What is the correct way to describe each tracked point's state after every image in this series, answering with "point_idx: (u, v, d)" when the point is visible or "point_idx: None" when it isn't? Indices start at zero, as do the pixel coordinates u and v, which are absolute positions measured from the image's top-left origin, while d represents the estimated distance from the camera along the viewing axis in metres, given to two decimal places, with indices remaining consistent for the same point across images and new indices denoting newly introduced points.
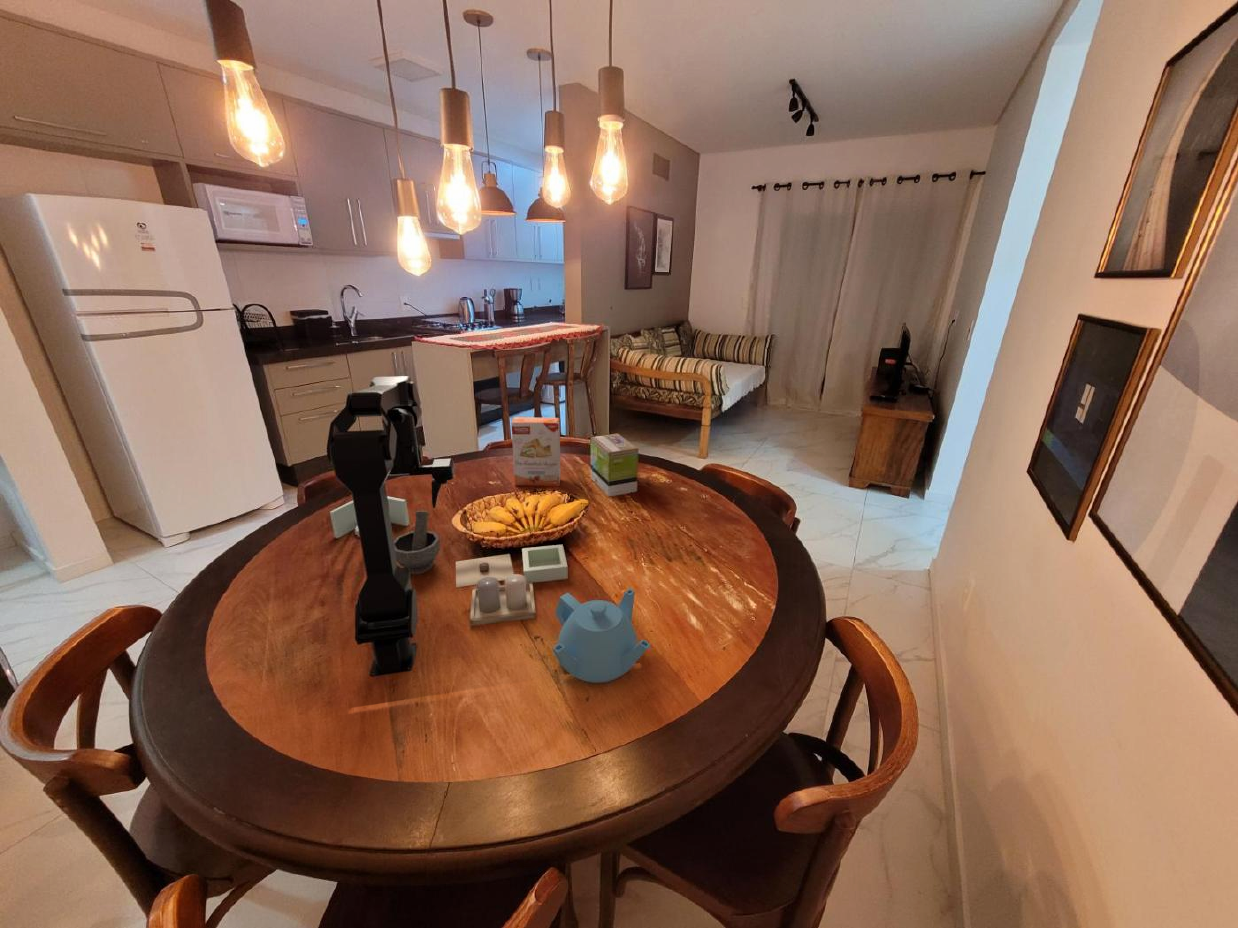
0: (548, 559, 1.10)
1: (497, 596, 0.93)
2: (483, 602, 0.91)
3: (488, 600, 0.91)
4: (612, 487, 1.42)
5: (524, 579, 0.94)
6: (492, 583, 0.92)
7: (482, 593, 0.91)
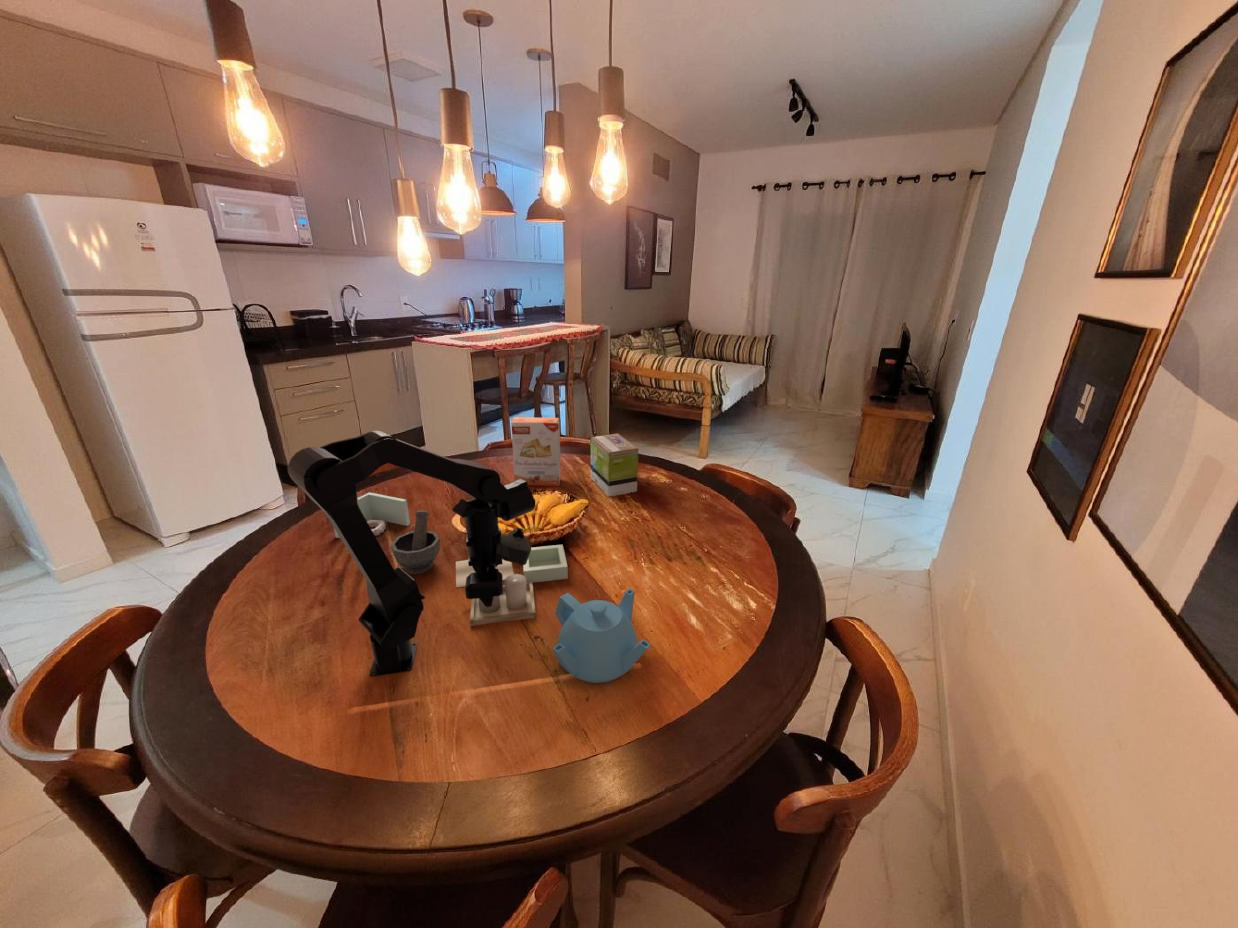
0: (548, 559, 1.10)
1: (497, 596, 0.93)
2: None
3: None
4: (612, 487, 1.42)
5: (524, 579, 0.94)
6: None
7: None
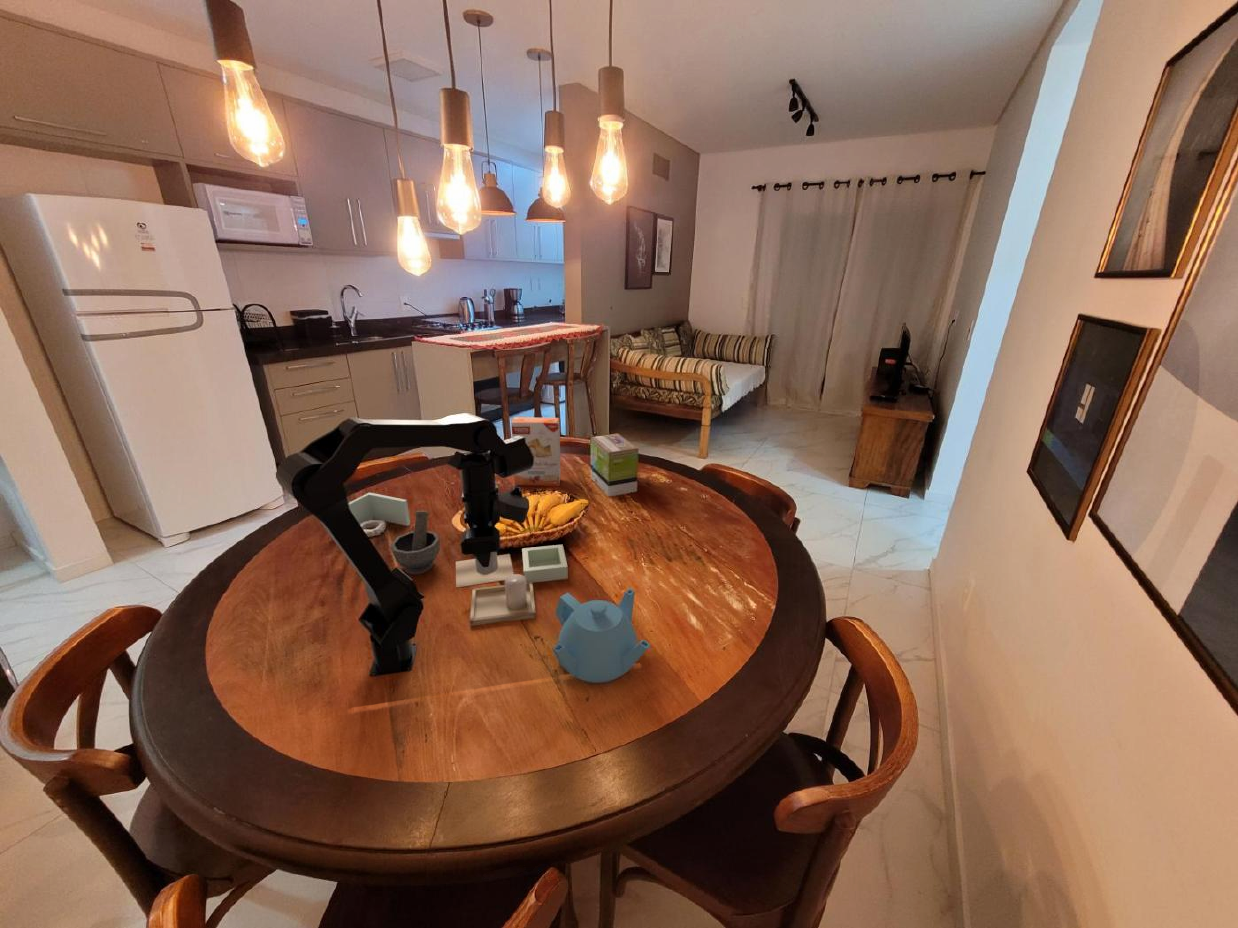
0: (548, 559, 1.10)
1: (495, 557, 0.89)
2: None
3: None
4: (612, 487, 1.42)
5: (524, 579, 0.94)
6: None
7: None
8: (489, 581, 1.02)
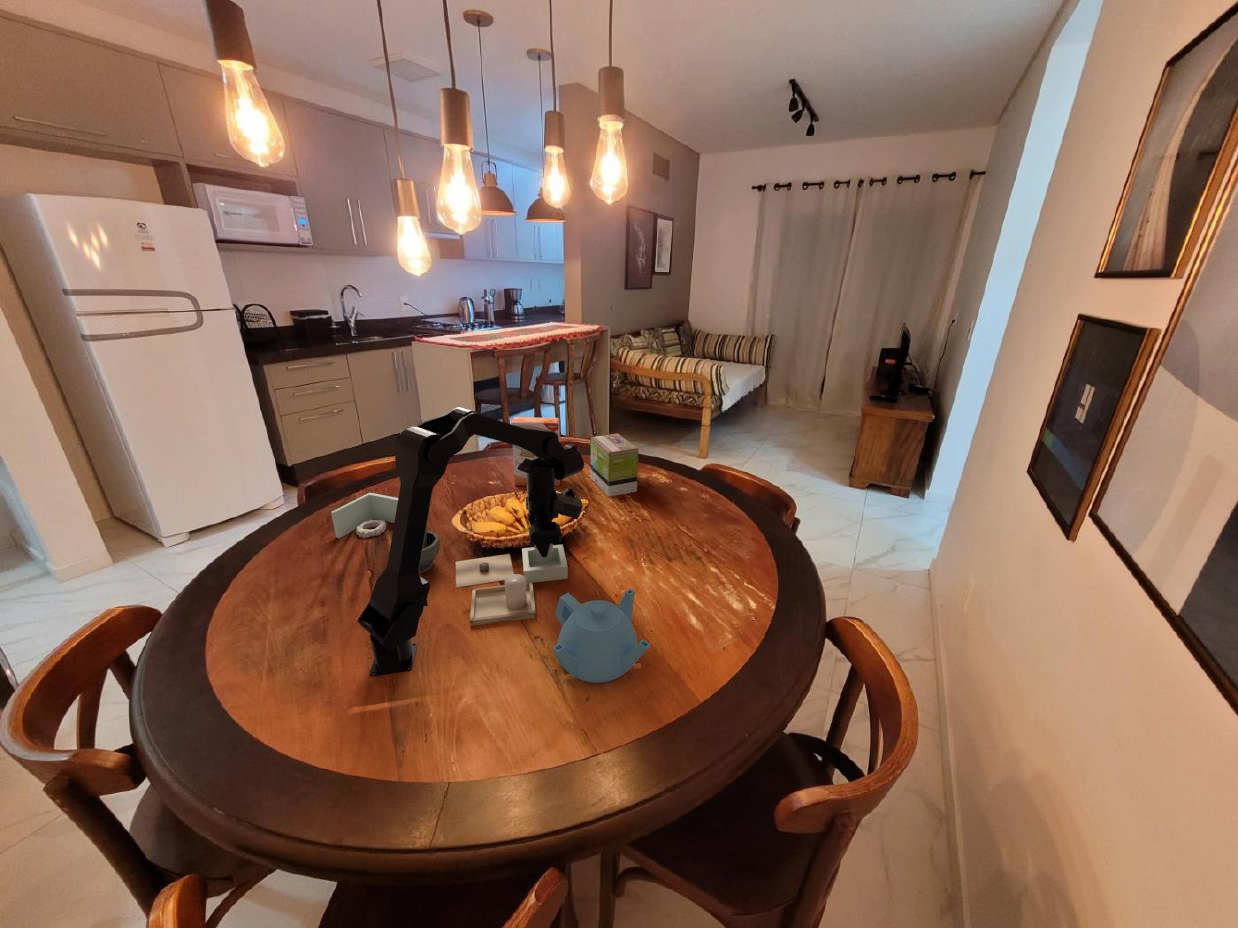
0: None
1: (551, 548, 1.04)
2: None
3: None
4: (612, 487, 1.42)
5: (524, 579, 0.94)
6: None
7: None
8: (489, 581, 1.02)
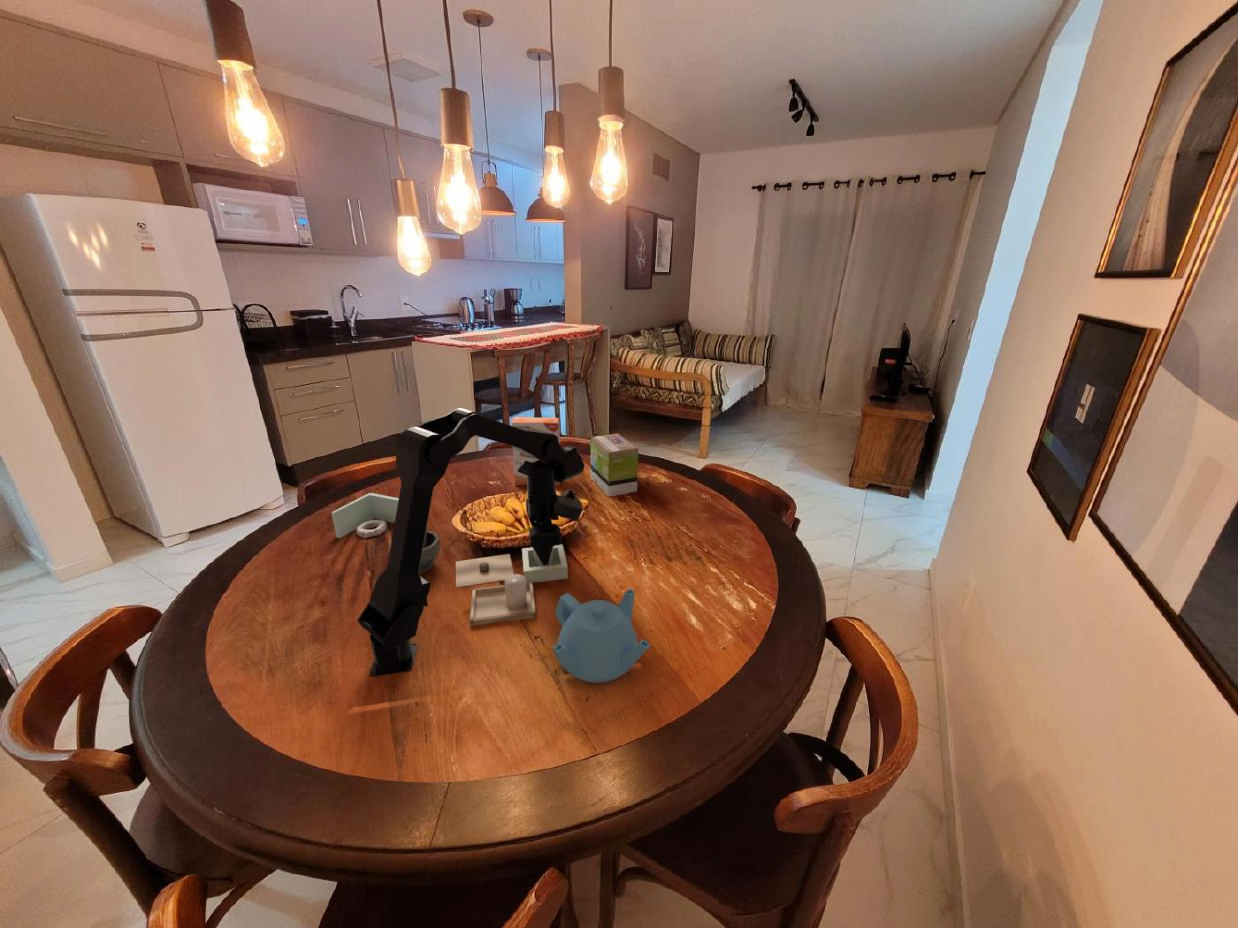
0: None
1: (551, 558, 1.05)
2: (539, 563, 1.04)
3: None
4: (612, 487, 1.42)
5: (524, 579, 0.94)
6: None
7: None
8: (489, 581, 1.02)
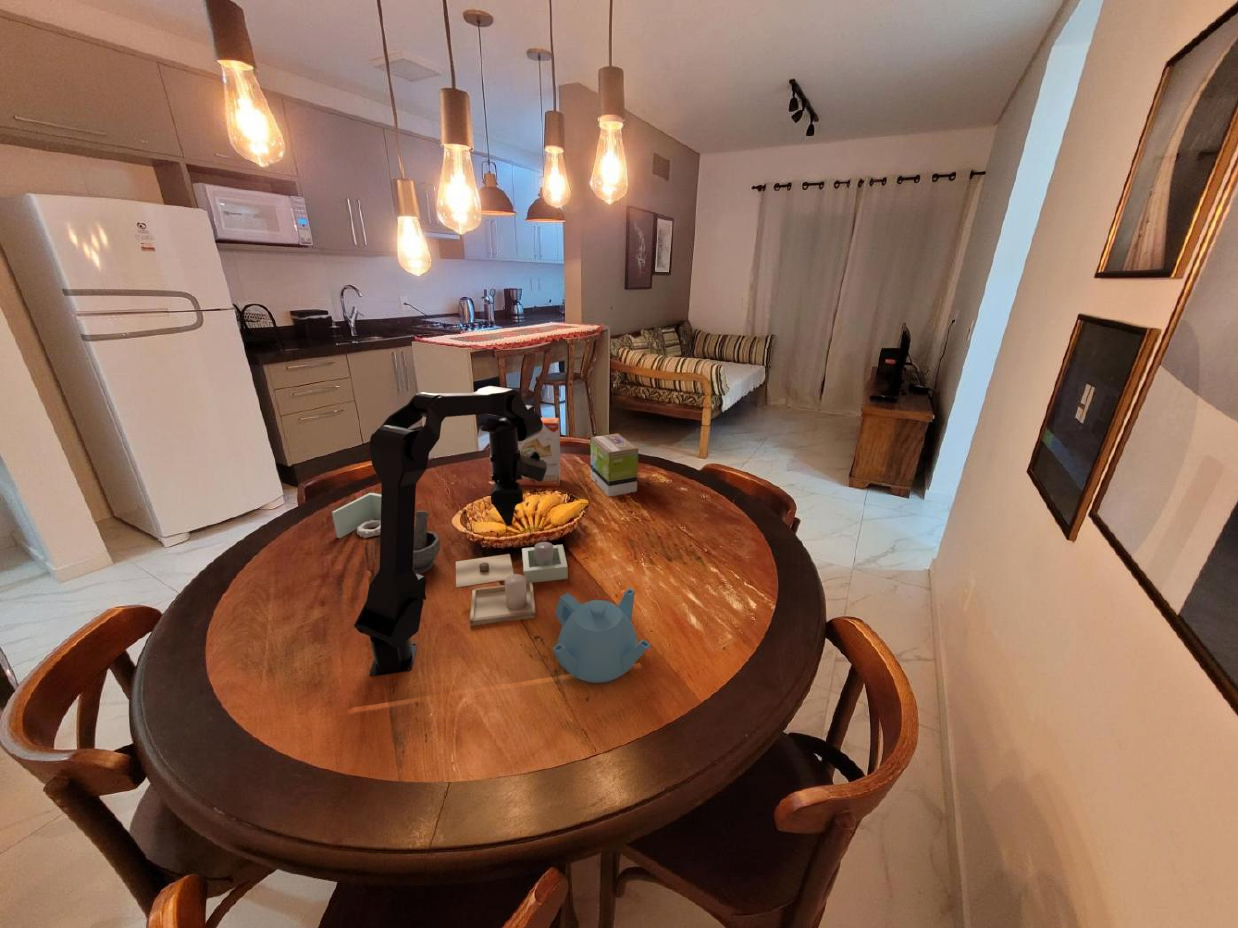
0: None
1: (551, 559, 1.05)
2: (539, 563, 1.04)
3: (542, 561, 1.04)
4: (612, 487, 1.42)
5: (524, 579, 0.94)
6: (547, 547, 1.05)
7: (538, 554, 1.04)
8: (489, 581, 1.02)
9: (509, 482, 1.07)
